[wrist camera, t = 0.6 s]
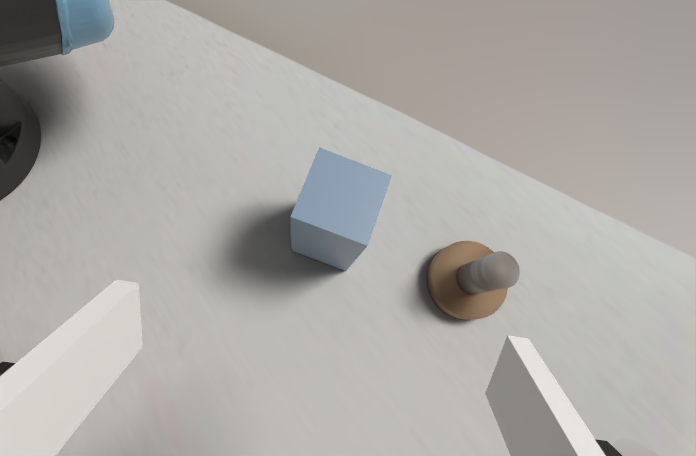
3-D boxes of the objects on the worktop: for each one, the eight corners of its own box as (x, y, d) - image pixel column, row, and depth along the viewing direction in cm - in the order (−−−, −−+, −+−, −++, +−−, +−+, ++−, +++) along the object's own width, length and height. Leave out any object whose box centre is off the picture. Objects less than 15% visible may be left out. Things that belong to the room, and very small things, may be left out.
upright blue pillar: (291, 250, 38) (290, 216, 27) (312, 199, 40) (319, 147, 29) (345, 271, 39) (367, 245, 27) (364, 219, 40) (391, 175, 29)
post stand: (411, 276, 40) (440, 263, 32) (462, 230, 42) (499, 208, 34) (463, 335, 39) (504, 337, 31) (512, 286, 41) (562, 275, 33)
